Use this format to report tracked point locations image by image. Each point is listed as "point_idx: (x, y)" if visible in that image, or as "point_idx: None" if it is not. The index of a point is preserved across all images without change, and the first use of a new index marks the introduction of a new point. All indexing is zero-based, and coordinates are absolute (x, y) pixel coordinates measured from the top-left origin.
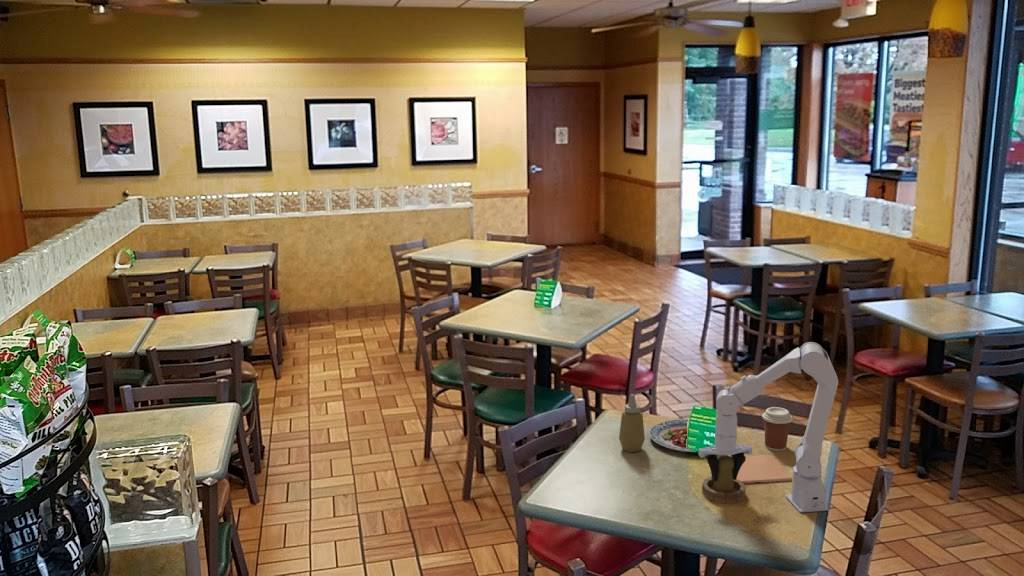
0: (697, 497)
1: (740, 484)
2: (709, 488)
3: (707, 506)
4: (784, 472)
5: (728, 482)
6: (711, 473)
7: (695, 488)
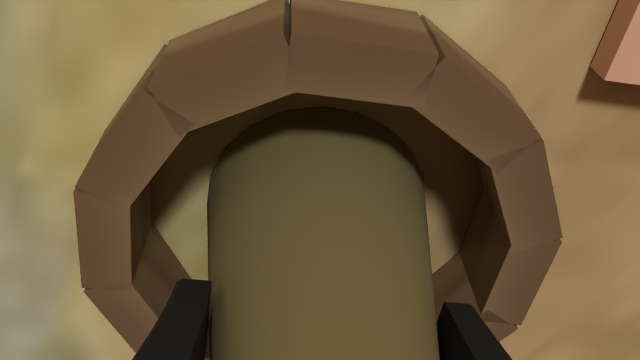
0: (27, 208)
1: (500, 287)
2: (128, 289)
3: (78, 342)
4: None
5: None
6: (158, 323)
7: (54, 30)
